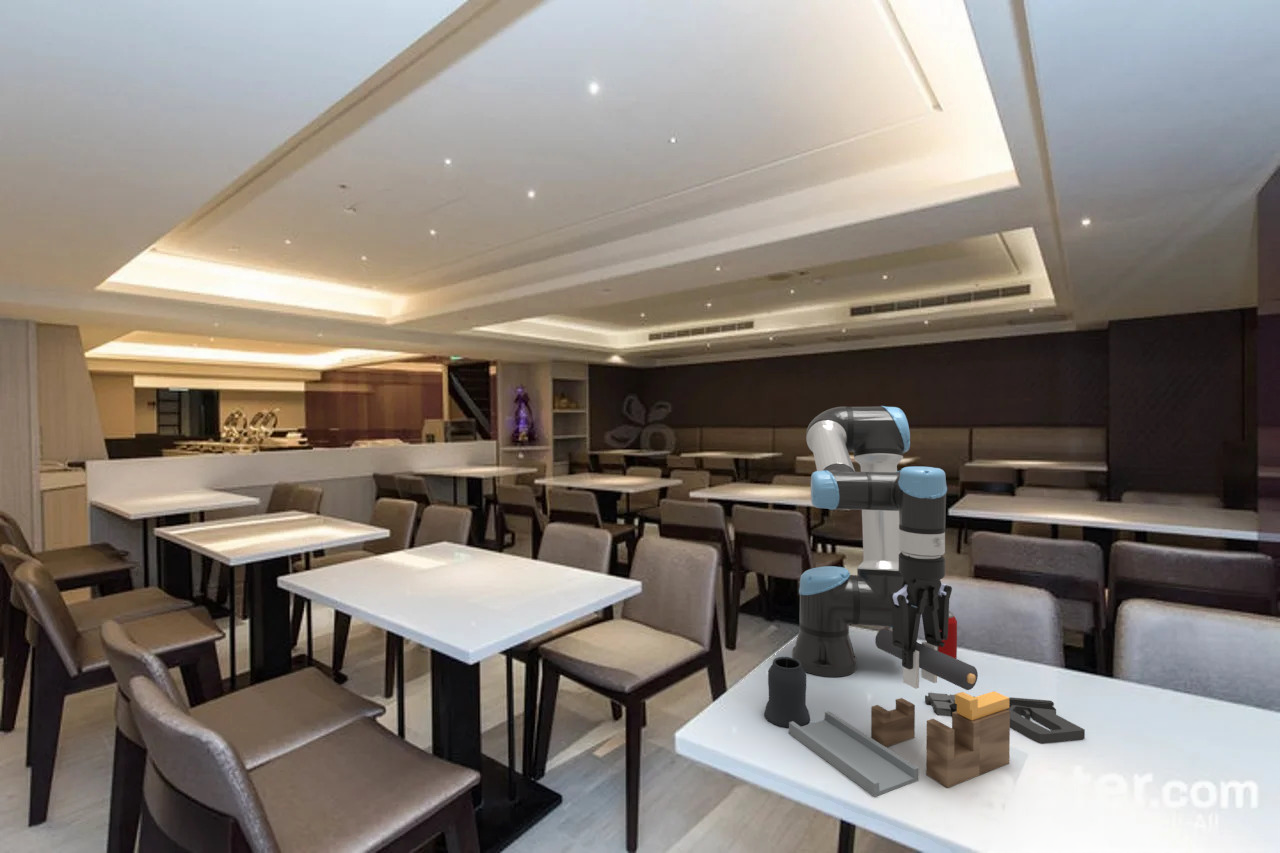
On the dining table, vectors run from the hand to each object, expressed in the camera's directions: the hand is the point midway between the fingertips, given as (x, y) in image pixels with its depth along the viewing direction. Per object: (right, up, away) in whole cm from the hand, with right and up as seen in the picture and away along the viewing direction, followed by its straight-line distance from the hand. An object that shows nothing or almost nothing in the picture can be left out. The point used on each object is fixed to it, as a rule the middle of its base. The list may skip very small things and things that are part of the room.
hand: (920, 682), depth 106 cm
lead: (0, +3, -1) cm, 3 cm away
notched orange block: (+9, -4, -3) cm, 11 cm away
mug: (-20, -13, +15) cm, 28 cm away
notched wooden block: (+6, -13, -4) cm, 15 cm away
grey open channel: (-13, -13, 0) cm, 18 cm away
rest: (-3, -13, +5) cm, 14 cm away
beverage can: (+25, -13, +41) cm, 49 cm away
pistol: (+22, -14, +12) cm, 28 cm away
